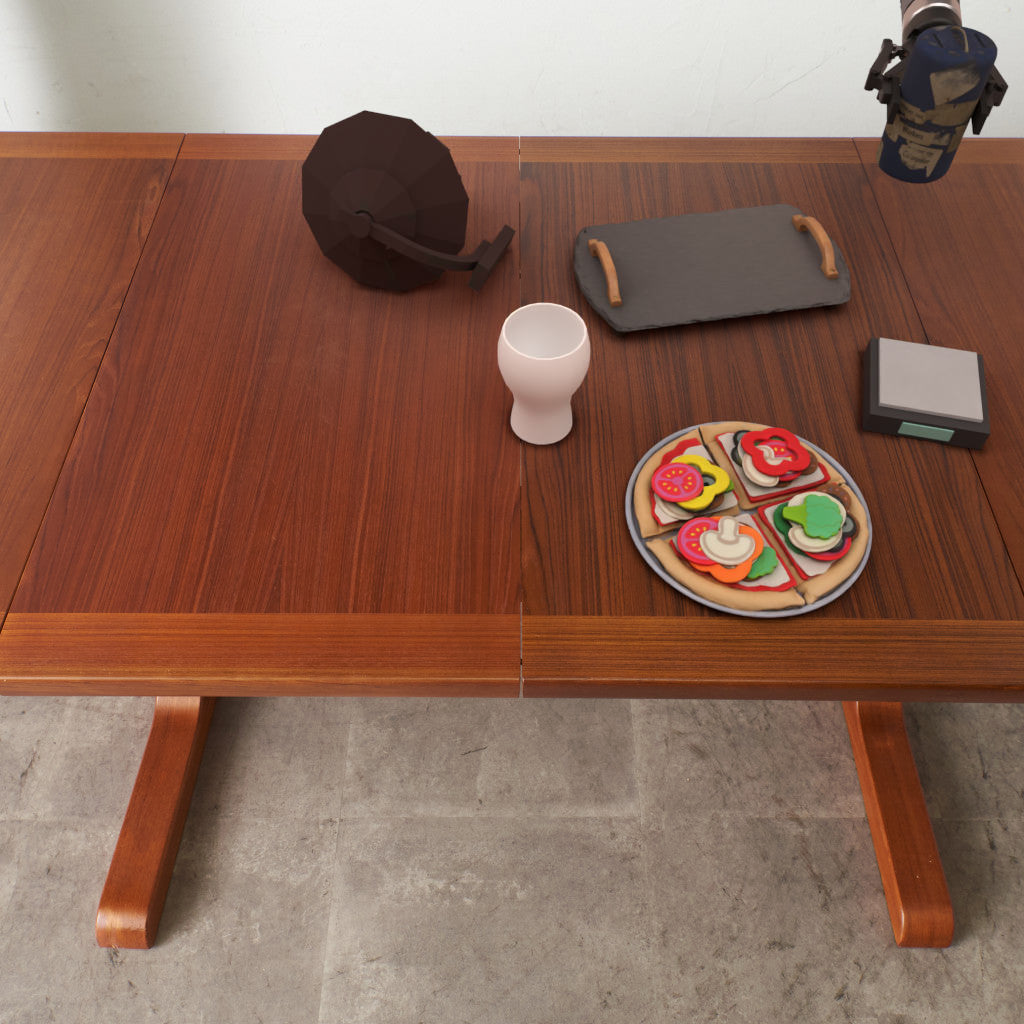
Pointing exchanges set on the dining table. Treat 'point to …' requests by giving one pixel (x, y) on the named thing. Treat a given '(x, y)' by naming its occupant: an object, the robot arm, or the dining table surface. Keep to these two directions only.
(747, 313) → the serving tray
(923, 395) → the scale
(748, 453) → the toy pizza
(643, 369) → the dining table surface
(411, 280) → the dark brown piece
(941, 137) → the canister
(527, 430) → the cup
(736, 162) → the dining table surface
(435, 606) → the dining table surface
